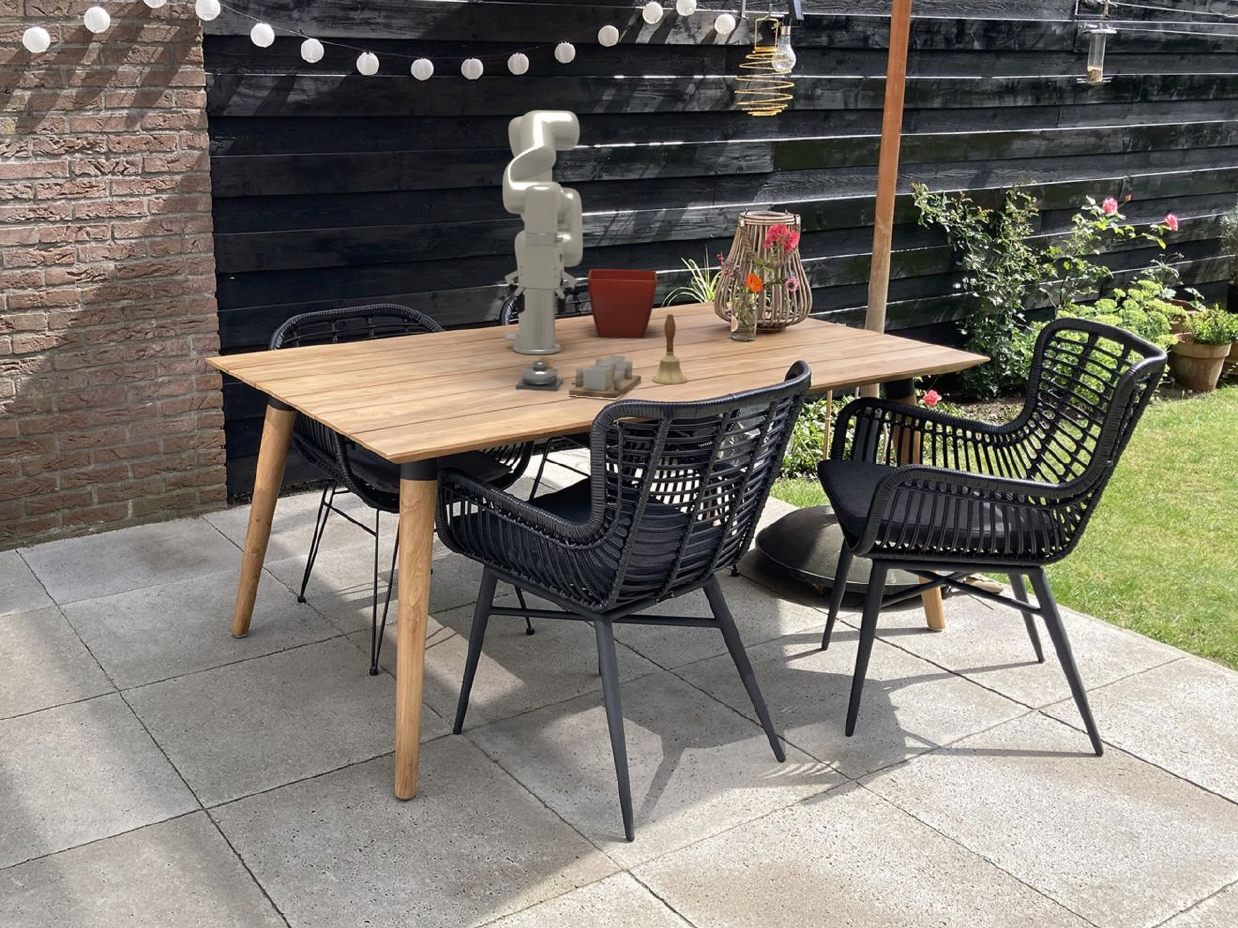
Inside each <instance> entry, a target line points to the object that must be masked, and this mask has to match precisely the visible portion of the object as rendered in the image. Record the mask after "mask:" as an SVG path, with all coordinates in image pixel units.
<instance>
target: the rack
mask: <svg viewBox="0 0 1238 928" xmlns="http://www.w3.org/2000/svg"><path fill="white" fill-rule="evenodd" d="M603 360H604V358H596V359H595V365H597V364H599V363H600V362H602V361H603ZM584 370H585V369H584V368H581V367H577V368H575V383H576V384H575V385H574V386H573V387H572V388H570V389H569V391H568V396H569V395H577V396H589V397H603V398H617V397H619V396H621V395H622V394H624V393H625V394H626V393H628V392H629V391H631V390H632V389H633V388H634V386H635V387H636V386H637V385H639V384H640V383H641V381H642V377H641V375H637V374H635V375H634V374H633V361H631V360H626V361H625V372H624V375H623V376H622V372H621V371H615V372H614V382H613V386H612V387H610V388H609V389H608V390H606V391H596V390H585V389H584ZM639 382H640V383H639ZM638 383H639V384H638ZM630 389H631V390H630ZM625 394H624V395H625ZM621 397H622V396H621ZM612 401H614V400H612Z"/></svg>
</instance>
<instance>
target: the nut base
mask: <svg viewBox="0 0 1238 928" xmlns="http://www.w3.org/2000/svg"><path fill="white" fill-rule="evenodd" d="M563 383H564V378H560V377H559V378H558V377H557V381H556V382H555V383H550V384H530V383H525V382H523V377H522V378H521V379H520V380H519V381H518V383H517V384H516V385H515V390H526V391H527V390H528V391H529V390H530V391H547V392H557V391H558V390H559V389H560V387H561V386H562V384H563ZM560 385H561V386H560Z"/></svg>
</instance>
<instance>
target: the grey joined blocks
mask: <svg viewBox="0 0 1238 928" xmlns="http://www.w3.org/2000/svg"><path fill="white" fill-rule="evenodd" d="M625 359H626V356H625V355H617V354H616V355H614V354H612V355H610V356H608V357H607V358H605V359H603V361H602V362H600V363H599V364H597V365H594V364H592V365H590V366H588V367H586V368H585V369H584V375H583V381H584V389H585V390H596V391H606V390H608V389H609V388H610V387H612V386H613V382H614V372H615V371H621V372H622V376H623V375H624V374H625Z"/></svg>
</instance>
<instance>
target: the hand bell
mask: <svg viewBox="0 0 1238 928" xmlns="http://www.w3.org/2000/svg"><path fill="white" fill-rule="evenodd" d="M675 334H676V321H675V319H674V314H672V313H669V314H667V315H666V319H665V323H664V335H665V339H666V346H665V347H666V350H665V351H666V355H664V356H663V357H661V358H660V361H659V368H658V370H657V372H656V374H655V375H654V376H653V377H652V379H651V380H652V383H656V384H661V385H680V384H684V383H687V381H688V380H687V377H686V376H684V374H683V372H682V369H681V365H680V358H678V357H677V356H675V355H674V338H675V336H676V335H675Z"/></svg>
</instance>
